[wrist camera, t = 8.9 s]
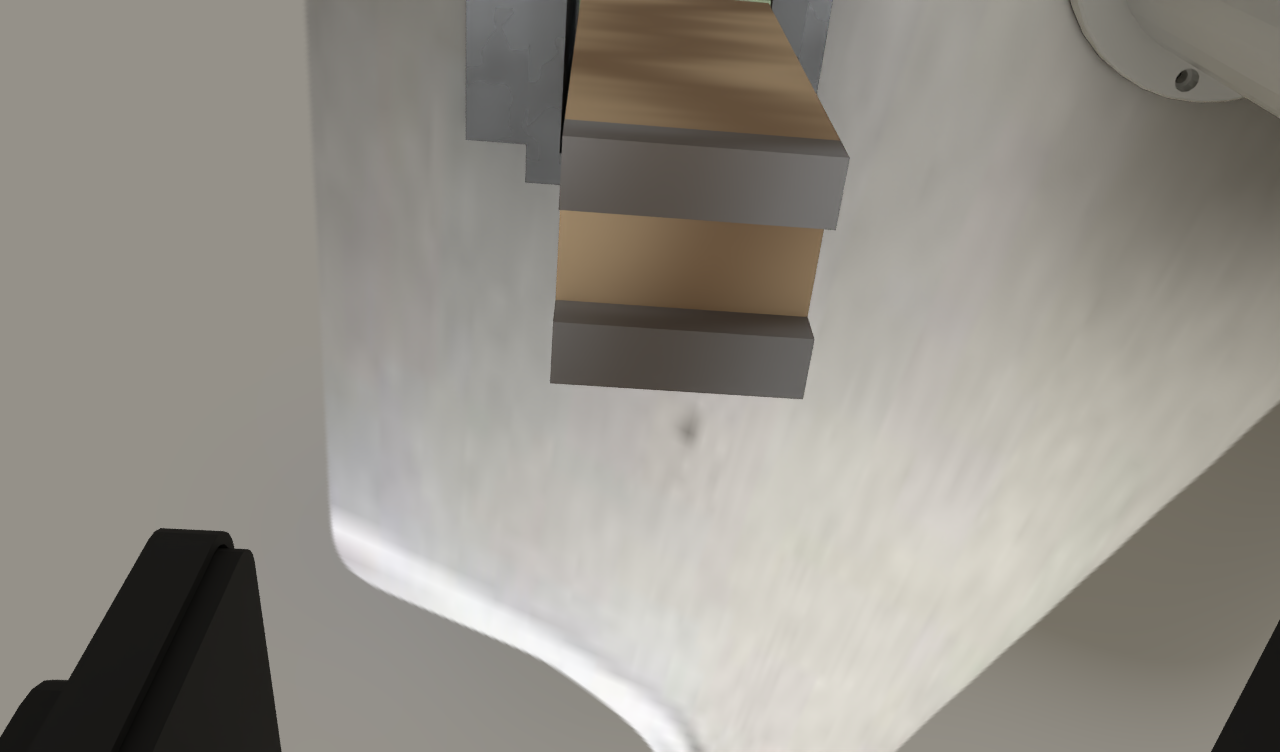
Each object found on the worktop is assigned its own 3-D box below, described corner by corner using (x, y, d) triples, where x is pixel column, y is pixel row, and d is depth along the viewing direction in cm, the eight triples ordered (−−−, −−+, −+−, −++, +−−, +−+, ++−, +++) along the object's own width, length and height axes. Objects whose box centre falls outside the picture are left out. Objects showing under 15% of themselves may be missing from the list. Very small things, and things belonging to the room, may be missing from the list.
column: (738, -59, 32) (853, 155, 17) (720, 90, 35) (805, 401, 19) (588, -72, 32) (559, 132, 16) (579, 79, 34) (547, 385, 19)
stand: (861, -219, 36) (968, -191, 25) (798, 152, 43) (861, 303, 32) (472, -257, 36) (405, -245, 24) (470, 126, 42) (417, 273, 31)
